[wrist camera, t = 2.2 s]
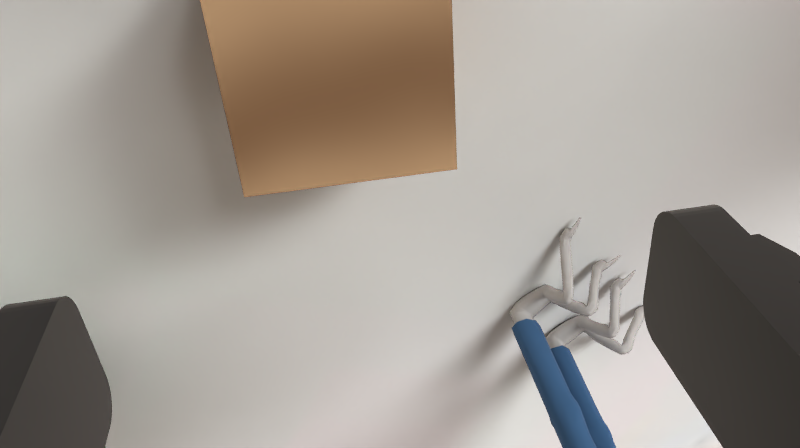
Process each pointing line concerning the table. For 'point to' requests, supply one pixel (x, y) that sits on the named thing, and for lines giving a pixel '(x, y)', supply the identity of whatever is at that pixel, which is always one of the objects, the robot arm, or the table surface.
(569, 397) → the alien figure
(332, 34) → the walnut block
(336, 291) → the table surface
